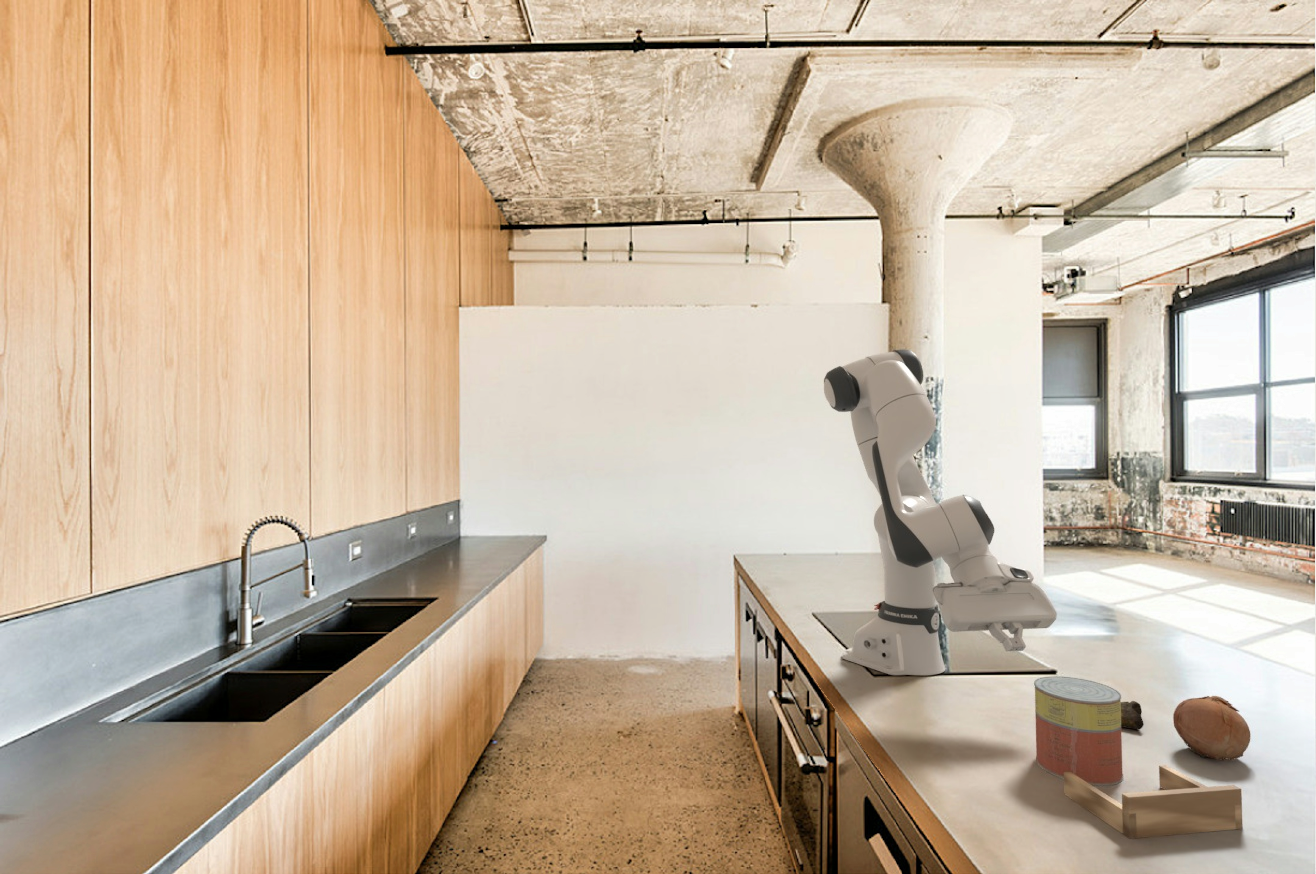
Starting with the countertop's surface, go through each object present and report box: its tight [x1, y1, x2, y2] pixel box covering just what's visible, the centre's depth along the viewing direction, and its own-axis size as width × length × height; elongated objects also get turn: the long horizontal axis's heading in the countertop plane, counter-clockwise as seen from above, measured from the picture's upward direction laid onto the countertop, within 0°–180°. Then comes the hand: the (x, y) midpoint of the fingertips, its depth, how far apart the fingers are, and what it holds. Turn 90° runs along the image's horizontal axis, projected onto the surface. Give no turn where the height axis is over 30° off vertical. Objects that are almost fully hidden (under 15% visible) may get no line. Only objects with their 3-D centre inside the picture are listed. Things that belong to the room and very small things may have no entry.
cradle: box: [1063, 764, 1244, 839], centre depth 89 cm, size 11×16×5 cm
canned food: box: [1033, 676, 1124, 787], centre depth 101 cm, size 11×11×12 cm
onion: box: [1172, 695, 1251, 762], centre depth 105 cm, size 10×9×10 cm
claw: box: [1121, 700, 1145, 730], centre depth 124 cm, size 20×10×3 cm, turn 13°
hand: (1016, 649), depth 115 cm, fingers closed
